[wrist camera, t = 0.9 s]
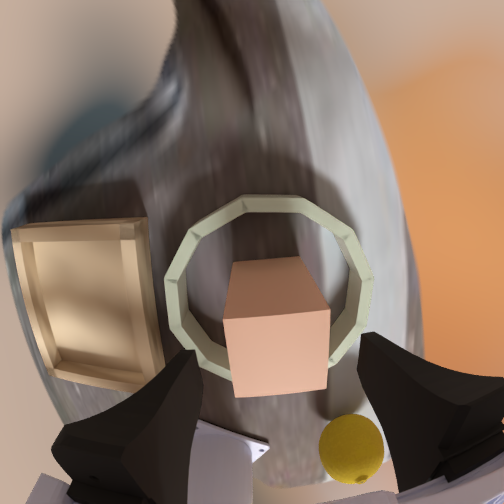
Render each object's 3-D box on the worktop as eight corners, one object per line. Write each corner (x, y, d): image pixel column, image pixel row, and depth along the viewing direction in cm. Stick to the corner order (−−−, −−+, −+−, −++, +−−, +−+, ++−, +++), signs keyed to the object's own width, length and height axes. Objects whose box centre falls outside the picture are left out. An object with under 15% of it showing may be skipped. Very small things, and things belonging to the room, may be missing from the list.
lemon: (364, 388, 23) (394, 454, 15) (370, 422, 24) (395, 481, 16) (305, 410, 23) (320, 481, 15) (319, 441, 24) (333, 503, 17)
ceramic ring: (294, 386, 22) (298, 406, 20) (148, 317, 20) (138, 334, 18) (390, 256, 19) (406, 267, 17) (232, 157, 18) (230, 154, 15)
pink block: (301, 315, 20) (326, 388, 13) (239, 320, 21) (235, 397, 13) (299, 256, 19) (330, 309, 12) (233, 261, 19) (222, 319, 12)
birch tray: (167, 376, 22) (160, 396, 19) (61, 360, 22) (49, 375, 19) (147, 216, 18) (133, 223, 16) (30, 223, 18) (10, 229, 16)
